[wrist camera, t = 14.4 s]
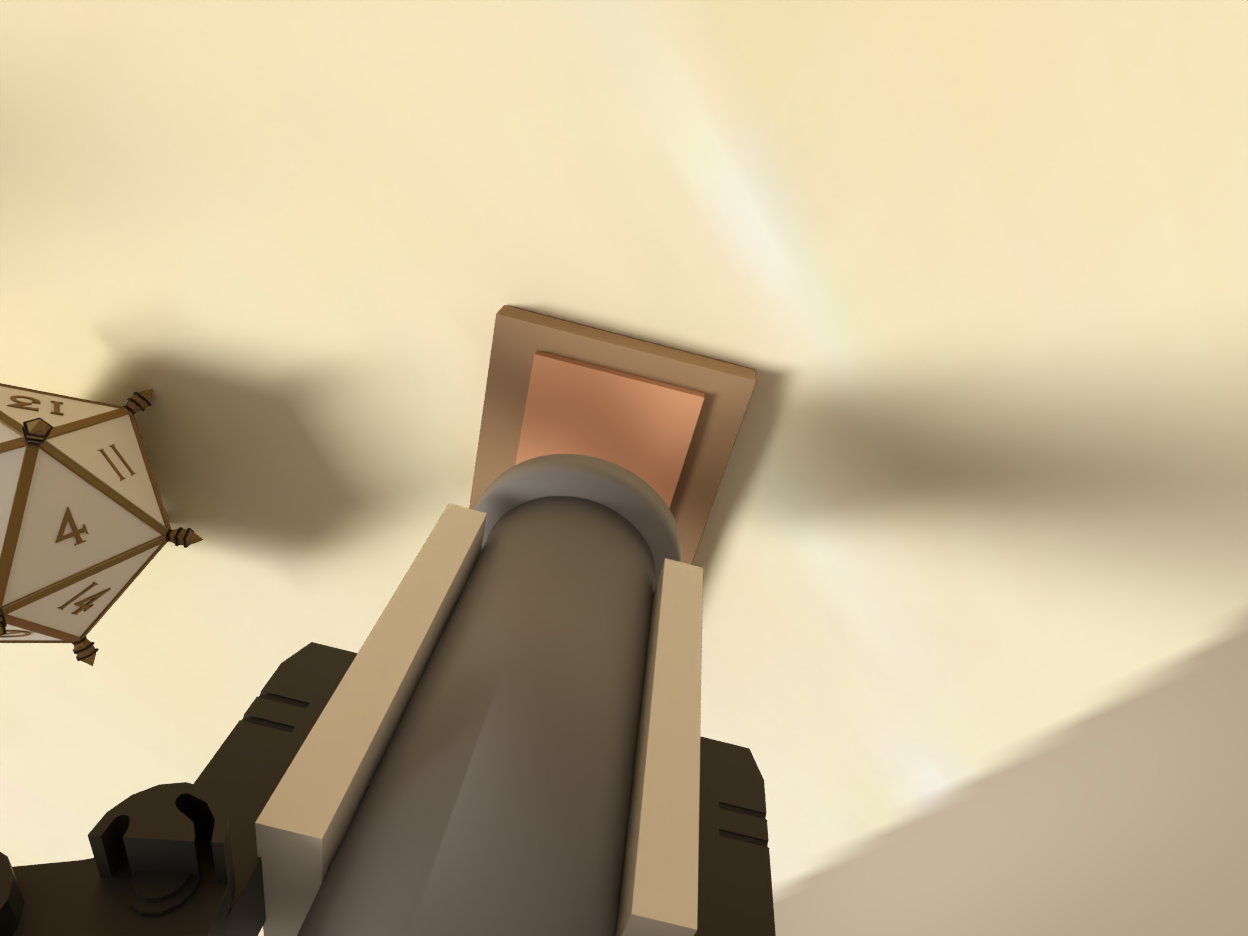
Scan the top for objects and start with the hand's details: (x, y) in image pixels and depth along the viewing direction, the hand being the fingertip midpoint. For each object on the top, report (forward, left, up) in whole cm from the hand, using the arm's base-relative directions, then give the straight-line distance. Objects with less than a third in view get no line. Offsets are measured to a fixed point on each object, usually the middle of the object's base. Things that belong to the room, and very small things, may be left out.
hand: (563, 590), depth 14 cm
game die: (-5, +15, -8) cm, 18 cm away
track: (-8, 0, -7) cm, 11 cm away
